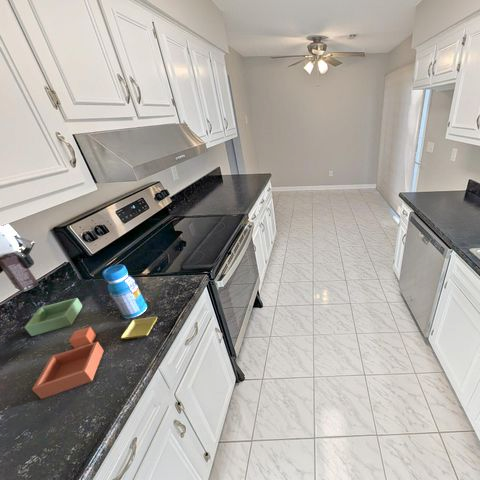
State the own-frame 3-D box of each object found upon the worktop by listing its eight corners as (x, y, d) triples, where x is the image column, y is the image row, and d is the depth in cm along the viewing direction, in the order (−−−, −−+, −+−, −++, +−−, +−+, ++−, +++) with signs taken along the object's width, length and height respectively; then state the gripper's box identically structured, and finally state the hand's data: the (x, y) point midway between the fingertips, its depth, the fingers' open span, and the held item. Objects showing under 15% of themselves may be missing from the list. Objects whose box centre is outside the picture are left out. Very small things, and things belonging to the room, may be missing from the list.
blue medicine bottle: (127, 322, 94) (102, 279, 85) (119, 313, 98) (95, 271, 89) (151, 309, 100) (131, 267, 90) (143, 301, 104) (122, 260, 95)
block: (75, 350, 84) (68, 340, 82) (80, 340, 88) (74, 331, 85) (92, 345, 85) (85, 335, 83) (96, 335, 89) (90, 326, 87)
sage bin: (31, 336, 91) (24, 327, 88) (47, 315, 100) (40, 307, 98) (71, 325, 95) (65, 316, 92) (82, 306, 104) (77, 297, 102)
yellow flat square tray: (159, 320, 94) (157, 316, 93) (149, 338, 86) (146, 334, 85) (135, 323, 93) (132, 319, 92) (122, 342, 86) (119, 338, 85)
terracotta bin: (41, 399, 69) (31, 389, 67) (59, 365, 79) (51, 355, 77) (92, 381, 73) (84, 371, 71) (104, 351, 83) (97, 341, 81)
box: (41, 284, 87) (19, 254, 82) (23, 292, 84) (0, 261, 78) (32, 280, 90) (11, 251, 84) (15, 288, 86) (-8, 258, 80)
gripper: (-74, 230, 69) (-29, 283, 77) (10, 217, 75) (43, 267, 83) (-52, 221, 75) (-12, 270, 84) (24, 209, 81) (54, 257, 89)
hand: (15, 268), depth 83 cm, fingers closed on box, 6 cm apart
